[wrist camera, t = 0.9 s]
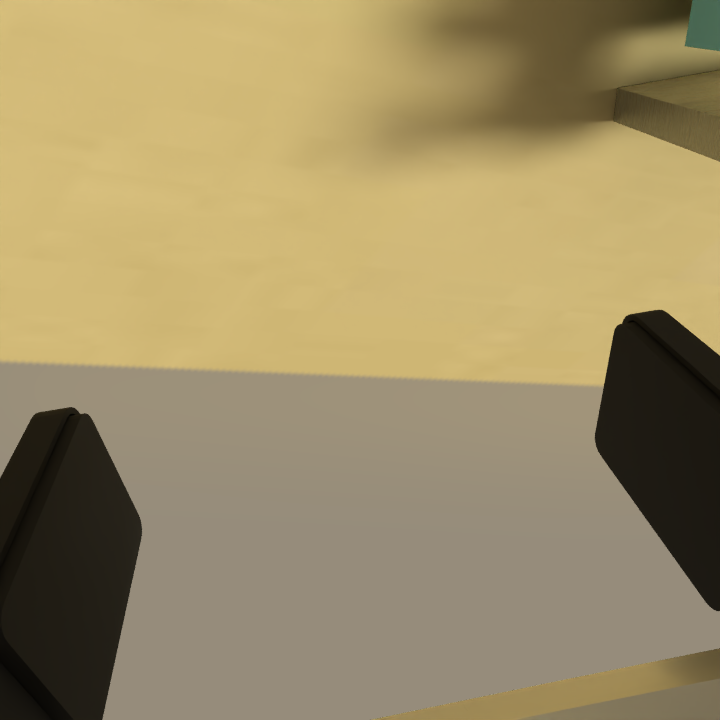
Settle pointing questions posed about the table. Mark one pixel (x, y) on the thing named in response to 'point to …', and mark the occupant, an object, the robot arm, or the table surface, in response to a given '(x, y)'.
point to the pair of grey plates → (675, 111)
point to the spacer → (704, 25)
